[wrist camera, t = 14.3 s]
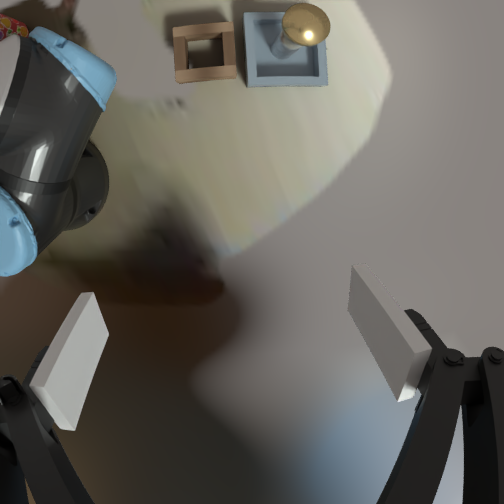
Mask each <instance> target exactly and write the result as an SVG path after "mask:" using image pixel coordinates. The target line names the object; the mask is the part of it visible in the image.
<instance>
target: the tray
mask: <svg viewBox="0 0 504 504" xmlns="http://www.w3.org/2000/svg"><path fill="white" fill-rule="evenodd" d="M284 14H285V12H244V13H243V18H242V24H243V39H244V55H245V70H246V86H247V87H272V86H319V87H321V86H326V85H328V73H327V57H326V43H325V40H323V41H322V42H320V43H319V44H317V45H314V46H303V47H302V48H300V49H299V50H298V51H297V52H295V53H294V54H293V55H292V56H290V57H289V58H288V59H285V60H280V59H277V58H275V57H274V56H273V55H272V53H271V45H272V43H273V42H274V41H275V39H276V38H277V36H278V35H279V34H280V32H281V31H282V25H281V22H282V18H283V16H284Z"/></svg>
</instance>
